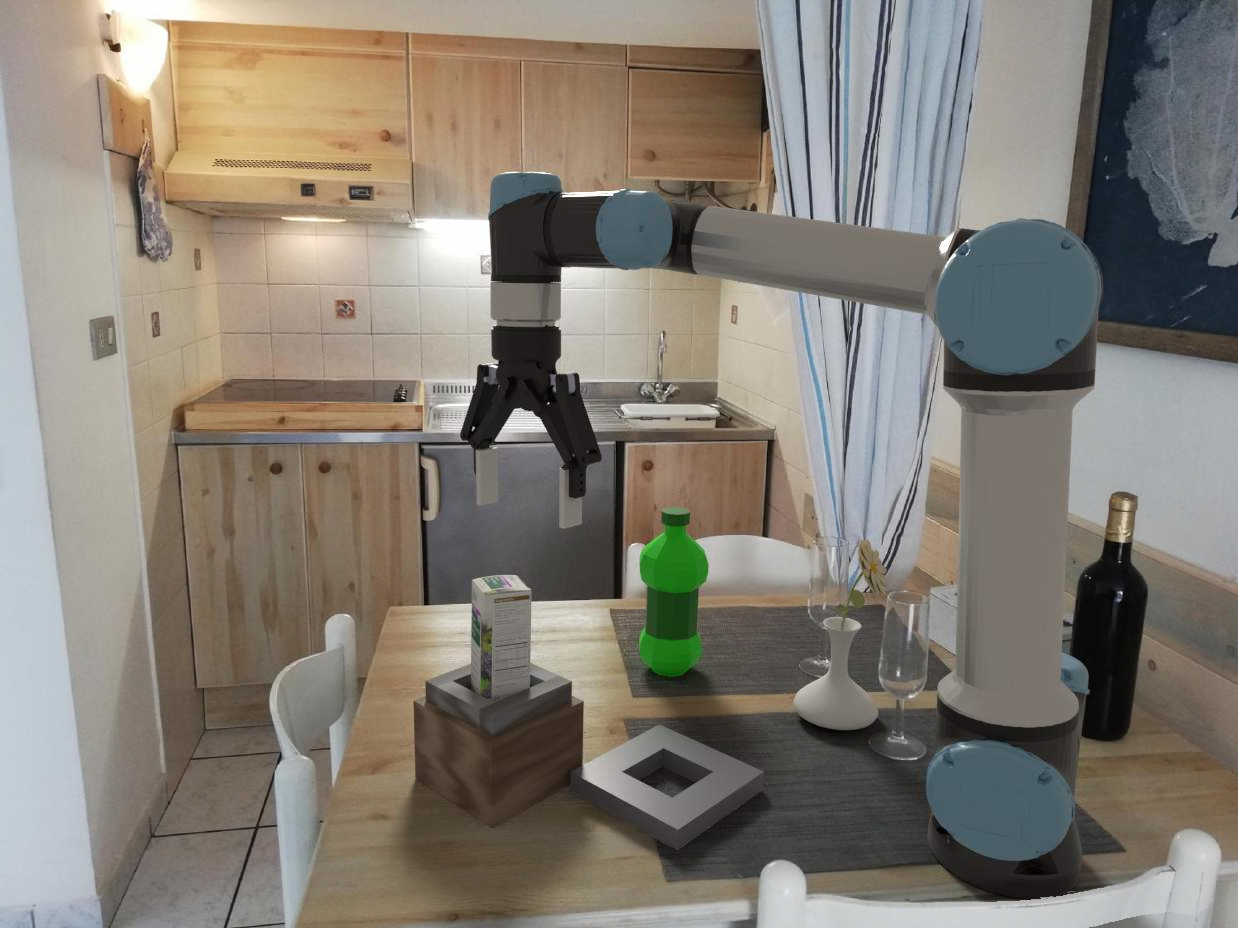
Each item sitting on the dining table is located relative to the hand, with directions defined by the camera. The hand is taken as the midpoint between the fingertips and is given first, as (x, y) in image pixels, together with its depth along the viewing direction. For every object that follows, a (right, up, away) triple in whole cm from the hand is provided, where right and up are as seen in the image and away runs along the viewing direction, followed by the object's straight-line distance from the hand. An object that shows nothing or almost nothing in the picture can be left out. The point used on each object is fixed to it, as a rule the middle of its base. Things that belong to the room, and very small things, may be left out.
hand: (527, 514), depth 105 cm
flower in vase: (+40, -29, +24) cm, 55 cm away
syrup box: (-4, -22, +4) cm, 23 cm away
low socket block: (+16, -33, +5) cm, 37 cm away
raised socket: (-4, -32, +6) cm, 33 cm away
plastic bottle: (+18, -26, +37) cm, 49 cm away
